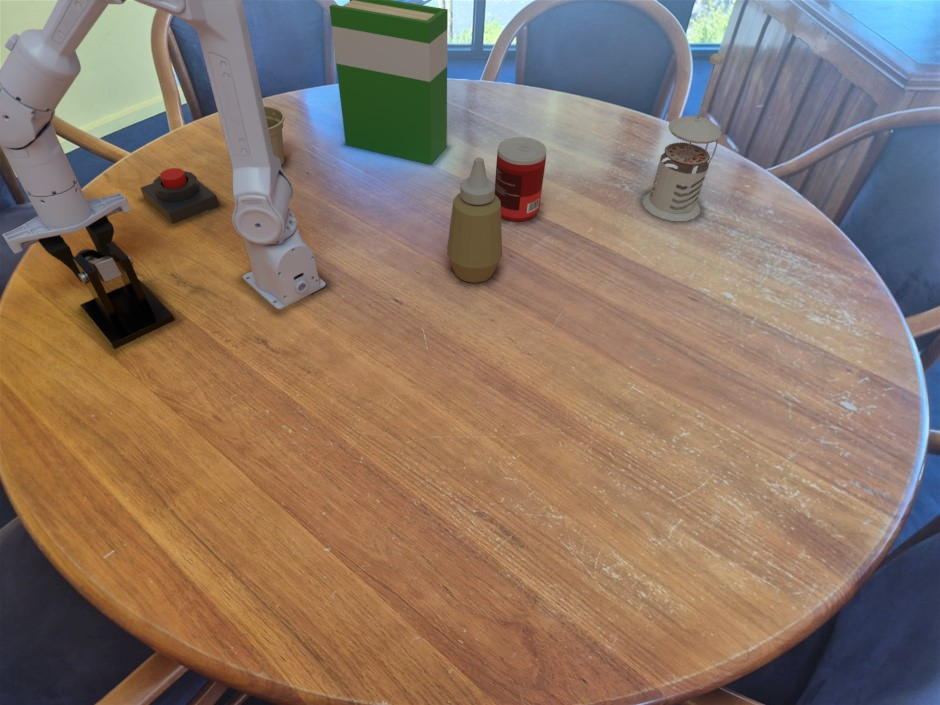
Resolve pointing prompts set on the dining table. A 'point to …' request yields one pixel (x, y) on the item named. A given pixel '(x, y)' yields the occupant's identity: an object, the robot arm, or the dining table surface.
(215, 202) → the button box
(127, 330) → the bracket
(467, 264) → the squeeze bottle
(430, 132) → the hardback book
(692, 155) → the french press
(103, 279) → the lever
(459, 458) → the dining table surface
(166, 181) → the button
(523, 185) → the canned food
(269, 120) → the flower pot
